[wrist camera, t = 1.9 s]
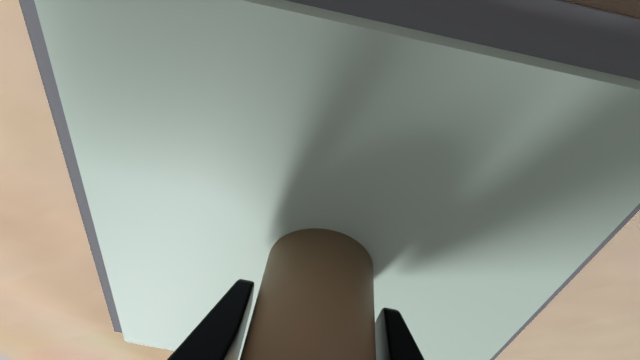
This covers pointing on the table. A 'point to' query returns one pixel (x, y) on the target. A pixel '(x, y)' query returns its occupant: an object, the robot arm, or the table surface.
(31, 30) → the rubber mat
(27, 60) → the table surface
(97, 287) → the table surface
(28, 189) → the table surface
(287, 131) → the board
